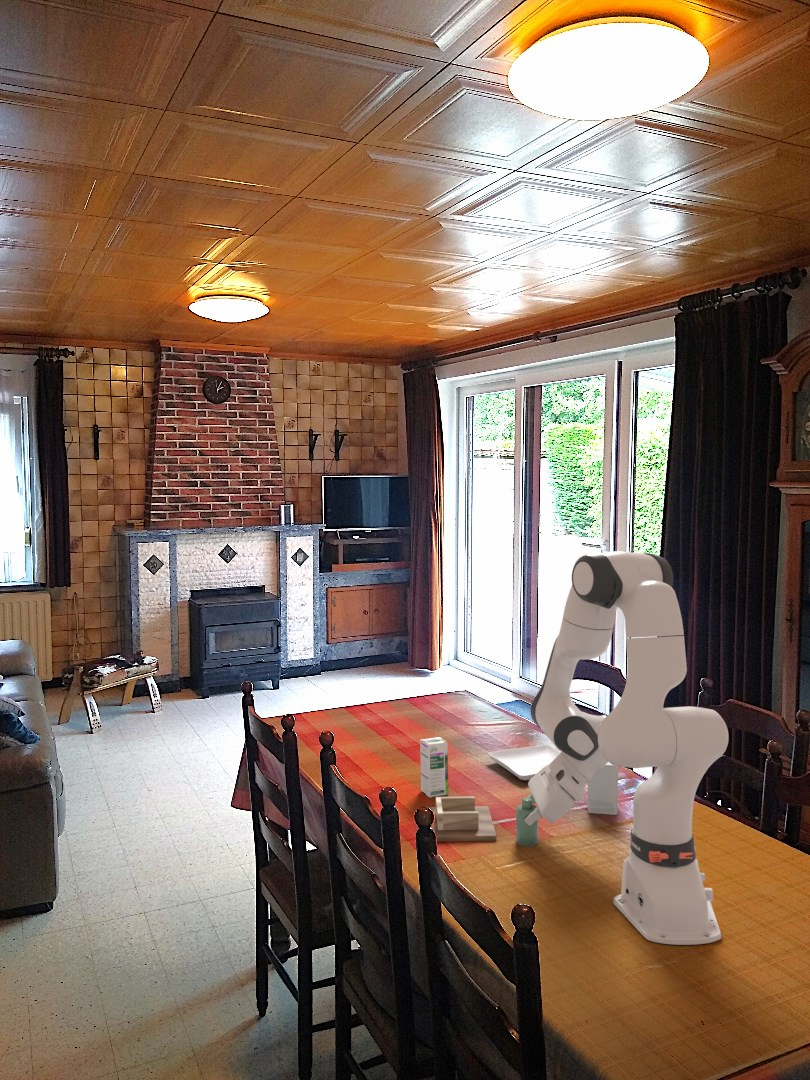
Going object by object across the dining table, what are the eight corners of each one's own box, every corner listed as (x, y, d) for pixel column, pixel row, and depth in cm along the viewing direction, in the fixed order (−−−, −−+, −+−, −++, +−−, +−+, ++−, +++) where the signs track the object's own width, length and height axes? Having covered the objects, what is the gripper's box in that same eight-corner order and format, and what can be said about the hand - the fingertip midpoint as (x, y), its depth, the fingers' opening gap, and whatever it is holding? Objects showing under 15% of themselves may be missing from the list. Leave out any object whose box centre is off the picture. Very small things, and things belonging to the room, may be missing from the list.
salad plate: (587, 776, 245) (587, 764, 244) (521, 787, 237) (521, 774, 237) (548, 754, 264) (548, 743, 264) (485, 763, 257) (485, 752, 256)
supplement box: (618, 815, 215) (618, 765, 215) (587, 813, 217) (587, 764, 216) (616, 804, 223) (617, 756, 222) (587, 802, 224) (587, 754, 223)
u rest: (496, 840, 202) (496, 818, 201) (427, 841, 201) (427, 819, 201) (488, 810, 219) (488, 790, 219) (425, 811, 219) (424, 791, 219)
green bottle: (539, 846, 198) (539, 803, 197) (517, 846, 198) (517, 803, 197) (536, 837, 203) (536, 795, 202) (514, 837, 203) (514, 795, 202)
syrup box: (429, 798, 229) (428, 744, 227) (420, 791, 234) (419, 738, 233) (448, 795, 231) (448, 741, 230) (439, 787, 236) (439, 735, 235)
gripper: (548, 751, 210) (508, 791, 210) (565, 780, 189) (520, 825, 190) (567, 769, 210) (527, 809, 211) (585, 800, 190) (541, 844, 190)
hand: (524, 817), depth 200 cm, fingers closed on green bottle, 5 cm apart
